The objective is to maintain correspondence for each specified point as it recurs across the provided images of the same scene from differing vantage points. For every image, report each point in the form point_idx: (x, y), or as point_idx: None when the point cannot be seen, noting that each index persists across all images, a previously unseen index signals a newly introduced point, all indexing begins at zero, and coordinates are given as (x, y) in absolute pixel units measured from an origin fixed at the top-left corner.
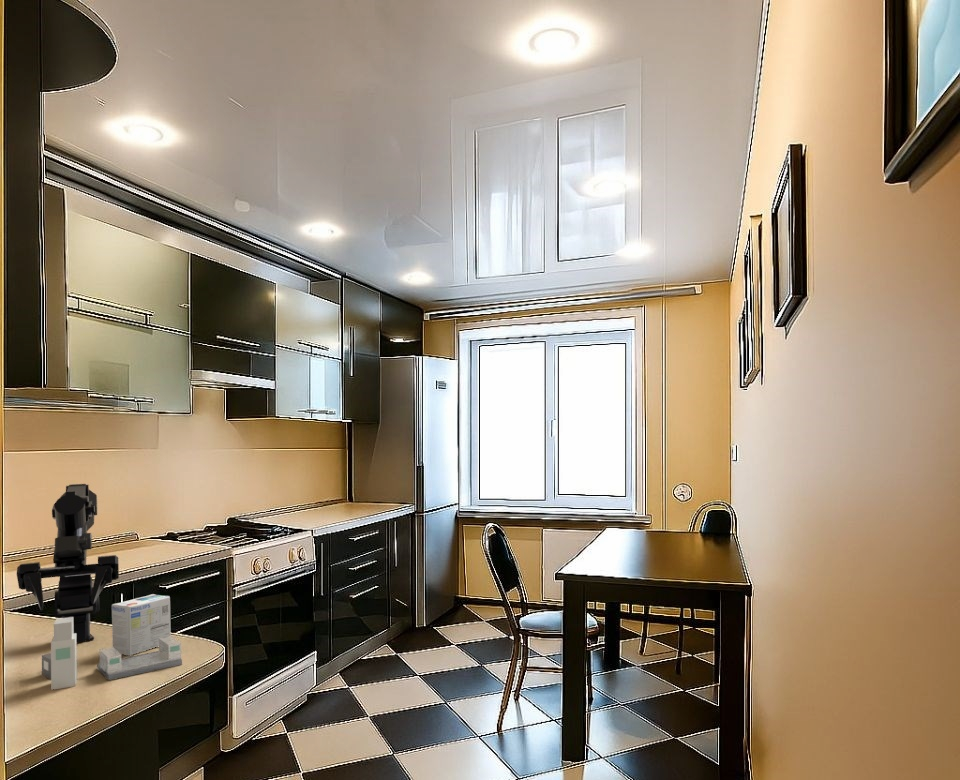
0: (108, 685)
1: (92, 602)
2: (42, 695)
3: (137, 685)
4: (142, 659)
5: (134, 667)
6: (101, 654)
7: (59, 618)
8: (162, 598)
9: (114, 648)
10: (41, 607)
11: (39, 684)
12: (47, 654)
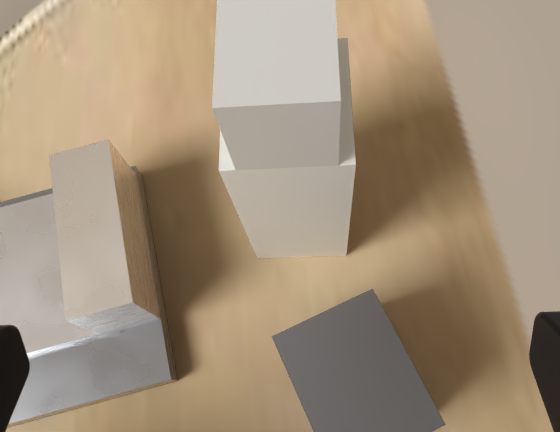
0: (145, 124)
1: (13, 333)
2: (362, 117)
3: (58, 82)
4: None
5: (31, 200)
6: (132, 265)
7: (315, 102)
8: None
9: (62, 285)
10: (546, 312)
11: (402, 260)
12: (413, 423)
